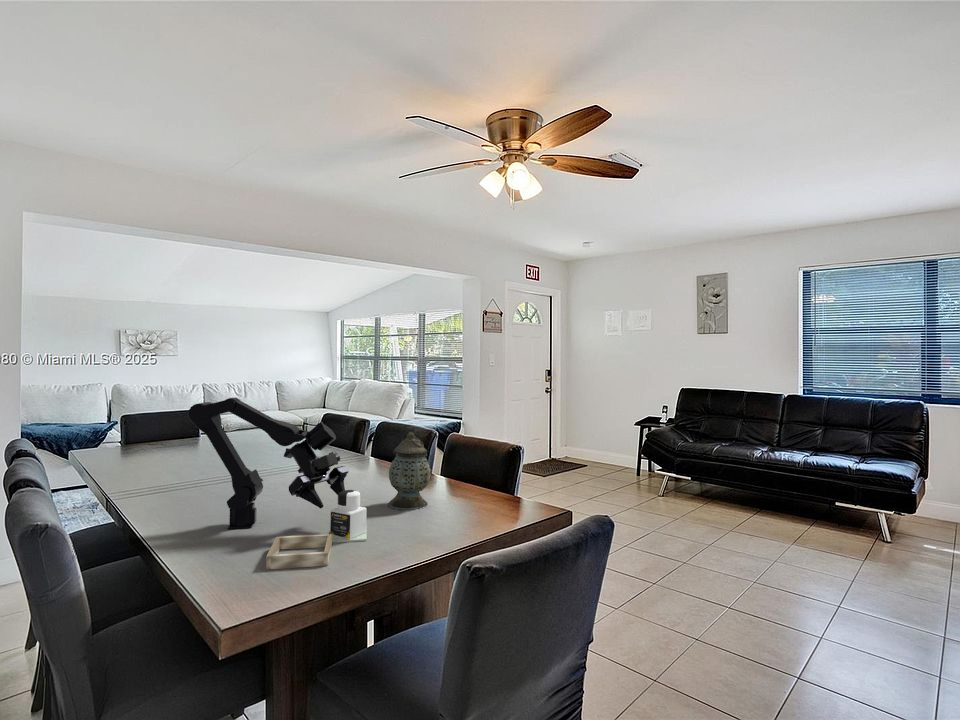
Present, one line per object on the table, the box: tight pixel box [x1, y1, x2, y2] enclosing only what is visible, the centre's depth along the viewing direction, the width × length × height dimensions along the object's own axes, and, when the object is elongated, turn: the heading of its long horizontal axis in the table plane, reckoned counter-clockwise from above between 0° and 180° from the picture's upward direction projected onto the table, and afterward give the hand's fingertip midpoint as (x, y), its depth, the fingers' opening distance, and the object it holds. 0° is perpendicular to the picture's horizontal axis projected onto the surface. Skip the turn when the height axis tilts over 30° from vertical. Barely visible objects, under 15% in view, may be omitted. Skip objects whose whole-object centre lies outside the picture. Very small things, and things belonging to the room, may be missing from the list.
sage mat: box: [332, 527, 368, 544], centre depth 149 cm, size 10×10×1 cm
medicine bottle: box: [329, 489, 367, 540], centre depth 149 cm, size 7×7×12 cm
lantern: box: [387, 431, 432, 511], centre depth 181 cm, size 14×14×25 cm
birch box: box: [265, 533, 333, 570], centre depth 133 cm, size 14×14×3 cm
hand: (334, 503), depth 151 cm, fingers open, 9 cm apart
